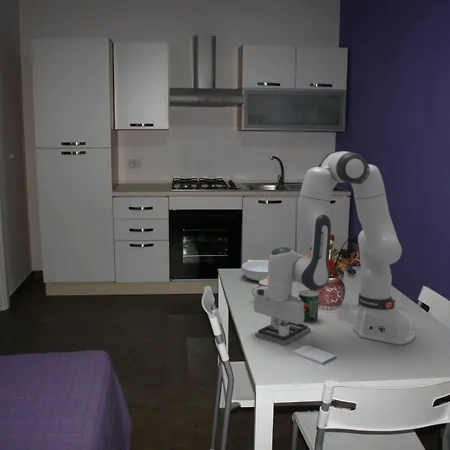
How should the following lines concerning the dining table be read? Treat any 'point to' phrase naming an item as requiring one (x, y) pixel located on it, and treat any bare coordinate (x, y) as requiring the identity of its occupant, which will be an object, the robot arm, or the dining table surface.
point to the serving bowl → (256, 270)
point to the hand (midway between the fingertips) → (277, 329)
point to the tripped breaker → (283, 329)
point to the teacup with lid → (261, 284)
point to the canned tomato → (310, 305)
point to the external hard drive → (315, 354)
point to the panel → (273, 336)
